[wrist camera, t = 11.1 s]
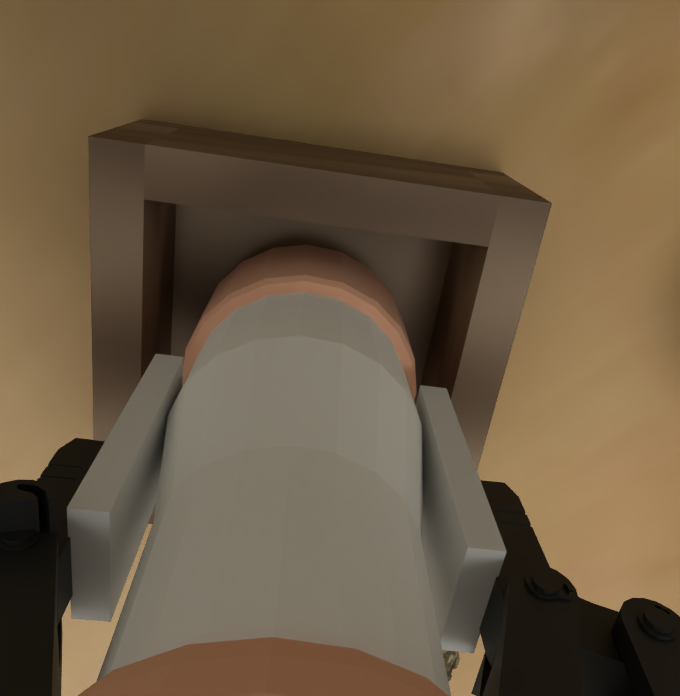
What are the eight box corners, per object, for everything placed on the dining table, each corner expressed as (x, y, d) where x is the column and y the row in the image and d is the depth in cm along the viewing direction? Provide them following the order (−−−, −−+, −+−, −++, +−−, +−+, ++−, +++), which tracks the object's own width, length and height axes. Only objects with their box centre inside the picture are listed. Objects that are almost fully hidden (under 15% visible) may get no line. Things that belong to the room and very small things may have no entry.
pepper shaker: (358, 454, 25) (441, 1415, 7) (176, 395, 23) (-263, 1386, 6) (438, 288, 22) (893, 1196, 4) (236, 211, 21) (-253, 1052, 3)
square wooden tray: (141, 119, 22) (88, 136, 17) (502, 172, 23) (551, 203, 18) (137, 434, 27) (95, 518, 22) (430, 466, 28) (453, 553, 23)
